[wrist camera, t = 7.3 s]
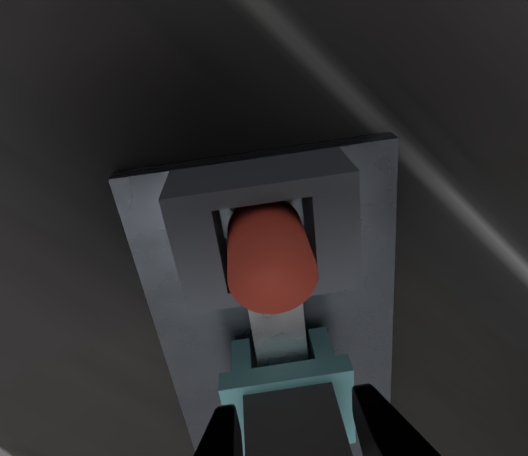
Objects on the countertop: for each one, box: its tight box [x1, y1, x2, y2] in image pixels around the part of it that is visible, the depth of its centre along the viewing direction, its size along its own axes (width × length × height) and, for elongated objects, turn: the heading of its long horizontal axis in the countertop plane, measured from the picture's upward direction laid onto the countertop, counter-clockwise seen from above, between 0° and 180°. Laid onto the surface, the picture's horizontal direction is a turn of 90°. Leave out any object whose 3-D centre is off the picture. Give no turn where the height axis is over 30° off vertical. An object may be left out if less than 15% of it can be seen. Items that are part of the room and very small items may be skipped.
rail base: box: [108, 132, 399, 456], centre depth 23 cm, size 12×30×3 cm, turn 7°
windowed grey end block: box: [158, 147, 361, 314], centre depth 22 cm, size 7×30×3 cm, turn 7°
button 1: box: [227, 201, 318, 314], centre depth 15 cm, size 3×3×3 cm
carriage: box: [218, 327, 356, 456], centre depth 19 cm, size 6×5×6 cm
